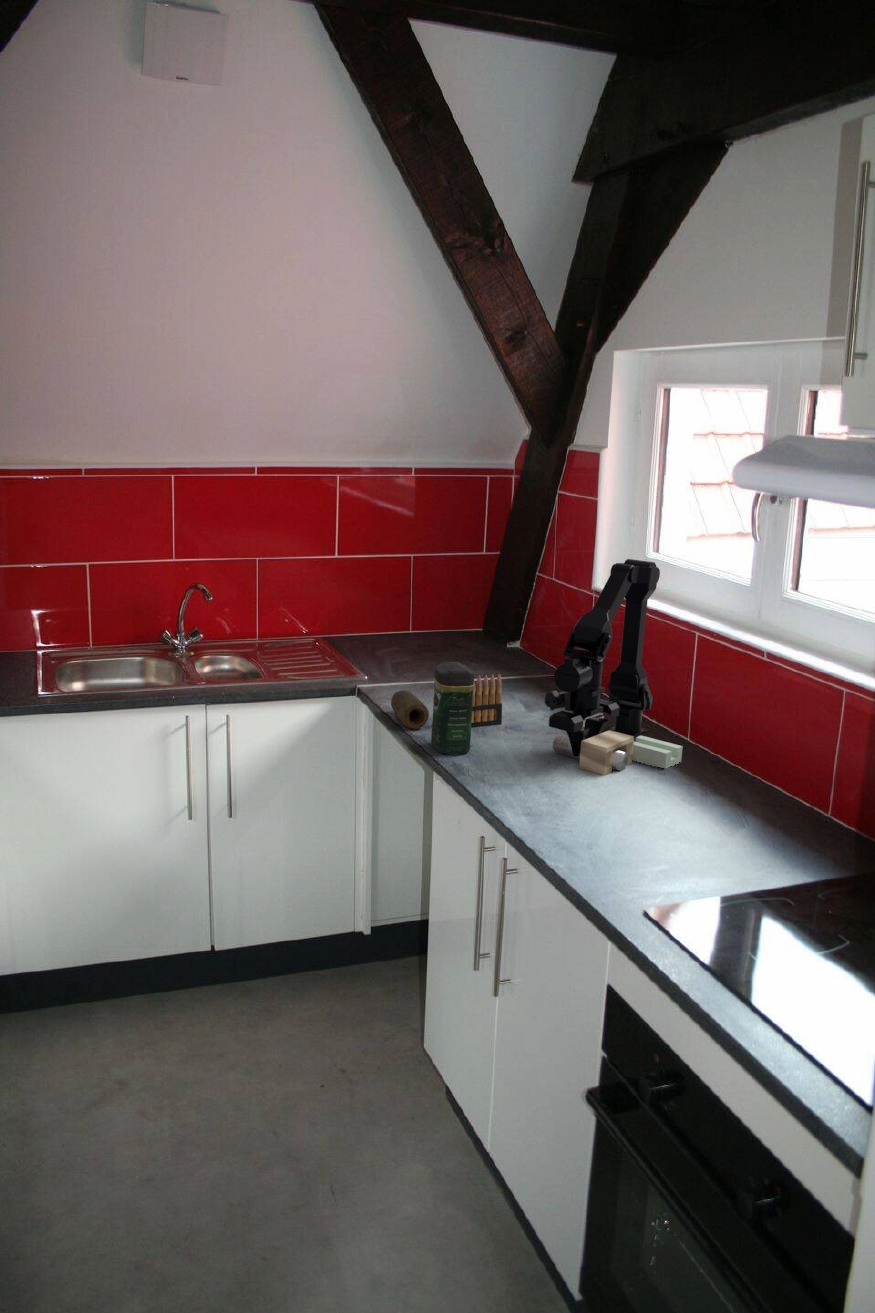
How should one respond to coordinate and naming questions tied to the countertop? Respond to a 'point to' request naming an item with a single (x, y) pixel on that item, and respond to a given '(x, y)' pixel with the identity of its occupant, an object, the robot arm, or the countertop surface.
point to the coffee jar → (452, 708)
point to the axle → (564, 747)
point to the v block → (656, 752)
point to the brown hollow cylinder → (409, 709)
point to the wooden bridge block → (604, 751)
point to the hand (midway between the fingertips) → (581, 753)
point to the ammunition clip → (487, 703)
